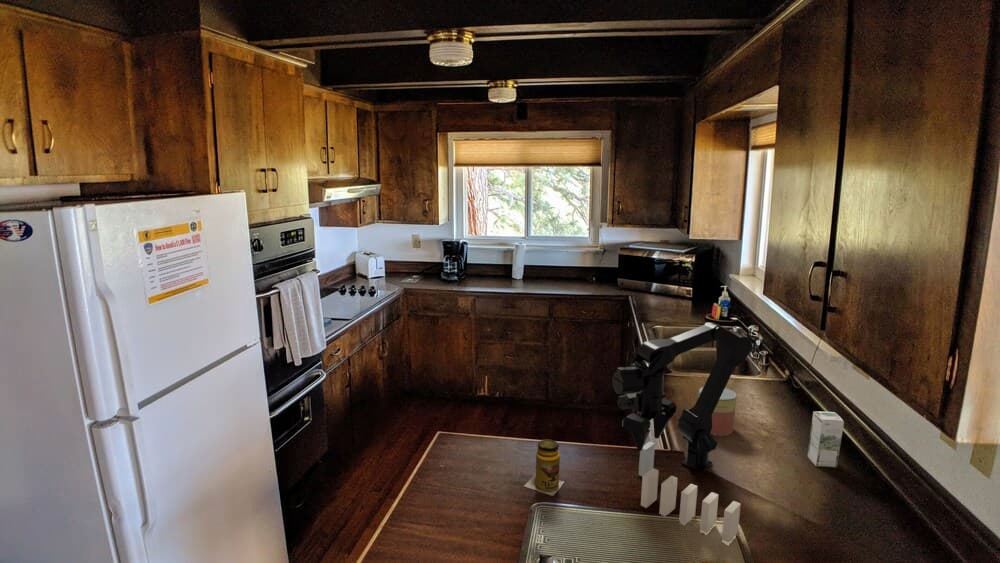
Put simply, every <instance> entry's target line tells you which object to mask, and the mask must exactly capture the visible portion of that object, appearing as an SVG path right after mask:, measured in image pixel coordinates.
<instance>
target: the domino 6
mask: <svg viewBox="0 0 1000 563" xmlns="http://www.w3.org/2000/svg"><path fill="white" fill-rule="evenodd" d="M741 505H742V504H741V503H740V502H738V501H735V500H733V501H731V503H730V504H728V506H727V507H726V508H725V509H724V512H723V513H724V514H723V522H722V532H721V533H722V534H721V541H722V540H724V541H726V542H730V541H731V540H732V539H733V537H734V536H735V535H736V534H737V532H738V533H739V526H740V525H739V523H740V514H741Z"/></svg>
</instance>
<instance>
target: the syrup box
mask: <svg viewBox="0 0 1000 563" xmlns="http://www.w3.org/2000/svg"><path fill="white" fill-rule="evenodd" d="M844 424H845V421H844V420H843V419H842V417H841V416H840V415H839V414H838V413H836V412H835V411H817V410H815V411H813V412H812V419H811V428H810V432H809V433H810V435H809V442H808V447H807V458H808V459H809V460H810V461H811V463H812V464H814V466H815V467H820V468H838V462H839V456H840V451H841V450H840V449H841V443H842V437H843V430H844Z"/></svg>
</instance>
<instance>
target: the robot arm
mask: <svg viewBox="0 0 1000 563" xmlns="http://www.w3.org/2000/svg"><path fill="white" fill-rule="evenodd" d="M712 342H717V344H716V351H715V353H716V361H715V363H714V365H713V366H712V369H711V371H710V373H709V375H708V377H707V379H706V382H705V383H704V385H703V386H704V387H703V386H702V387H703V389H702V391H701V394H700V396H699V395H698V397H699V398H697V400H696V401H695V404H694V405H693V406H692V407H690V409H687V408H684V409H683V410H682V412H681V415H680V417H679V418H678V419H677V421H678V423H677V424H678V425H677V428H678V432H679V433H680V434H681V436H682V438H683V439H684V440H685V441H687V444H686V445H687V448H686V458H684V459H683V460H682V461H681V463H680V464H681V465H683V466H686V467H689V468H690V469H694V470H696V471H699V472H701V473H704V472H705V471H706V470H707V469H709V468H710V467H711V466H712V465H713V462H712V461H711V460H709V456H710V455H709V453H711V452H712V451H714V450H716V449H717V446H718V441H717V440H715V438H713V436H712V435H711V434H710V433H711V430H712V414H713V411H714V409H715V407H716V405H717V403H718V401H719V399H720V397H721V395H722V393H723V391H724V389H725V388H727V387H726V386H727V384H728V382H729V380H730V378H731V377H732V374H733V372H734V370H735V368H737V367H738V366H740V365H741V364H743V363H745V361H746V359H747V358H748V357H749V355H750V353H751V352H752V350H753V346H754V345H753V343H752V341H751V339H750V338H749V337H747V336H745V335H743V334H739V333H738V332H735V331H733V330H727V329H726V328H724V327H723V326H722V325H720V324H717V323H715V322H711V321H709V322H708V321H707V322H705V323H704V324H703V325H699V326H698V327H696V328H693V329H690V330H688V331H685V332H683V333H680V334H677V335H675V336H672V337H669V338H657V339H649V340H646V341H644V342H643V343H642V344H641V345H640V348H639V350H638V351H637V353H636V354H635V355H634V357H633V358H632V359H631V361H630V362H629V365H630V366H625V367H623V366H619V367H617V368H616V371H615V372H614V374H613V376H612V378H611V380H612V381H611V382H612V388H613V391H614V392H615V394H617V395H620V396H618V399H617V404H616V405H617V406H618V408H620V409H621V410H628V409H630V410H632V409H633V411H634V412H636V413H640V414H641V415H640V414H636V413H634V412H632V413H630V414H628V415H627V416H624V418H622V422H621V424H622V425H621V426H622V428H625V429H626V430H629V431H630V432H631V433H632V436H633V439H634V442H635V446H636V449H637V451H639V452H640V451H641V450H642V449H643V446H644V445H645V444H646V442H647V439H648V437H649V435H650V432H651V420H653V421H652V422H653V434H654V436H653V437H654V439H657V440H658V439H659V438H661V435H662V433H663V432H664V431H665V429H666V427H667V425H668V424H669V422H670V420H671V419H672V417H674V414H675V413H676V412H677V404H676V403H675V402H674V401H672V400H671V399H670V400H669V399H666V395H667V394H666V393H665V392H664V382H665V381H664V378H665V377H664V376H665V375H668V374H670V375H671V374H672V373H673V372H672V370H671V369H669V367H668V365H669V364H671V363H673V362H674V360H675V359H676V358H677V357H678V356H680V355H682V354H684V353H686V352H690V351H692V350H694V349H696V348H699V347H702V346H704V345H707V344H710V343H712ZM643 362H644V363H643ZM645 363H646V364H648V365H646V364H645ZM623 394H624V395H623Z"/></svg>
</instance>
